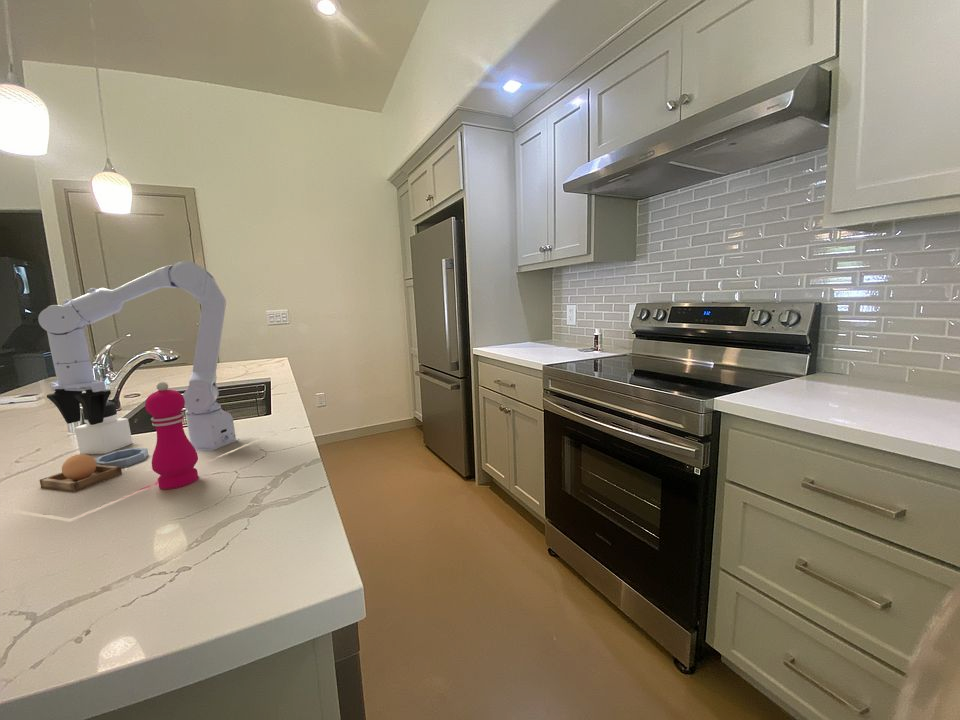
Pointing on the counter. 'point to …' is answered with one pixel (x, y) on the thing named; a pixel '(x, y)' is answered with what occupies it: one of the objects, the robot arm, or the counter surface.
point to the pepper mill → (171, 439)
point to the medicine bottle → (104, 433)
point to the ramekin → (123, 457)
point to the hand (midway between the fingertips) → (85, 422)
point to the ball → (79, 467)
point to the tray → (67, 484)
